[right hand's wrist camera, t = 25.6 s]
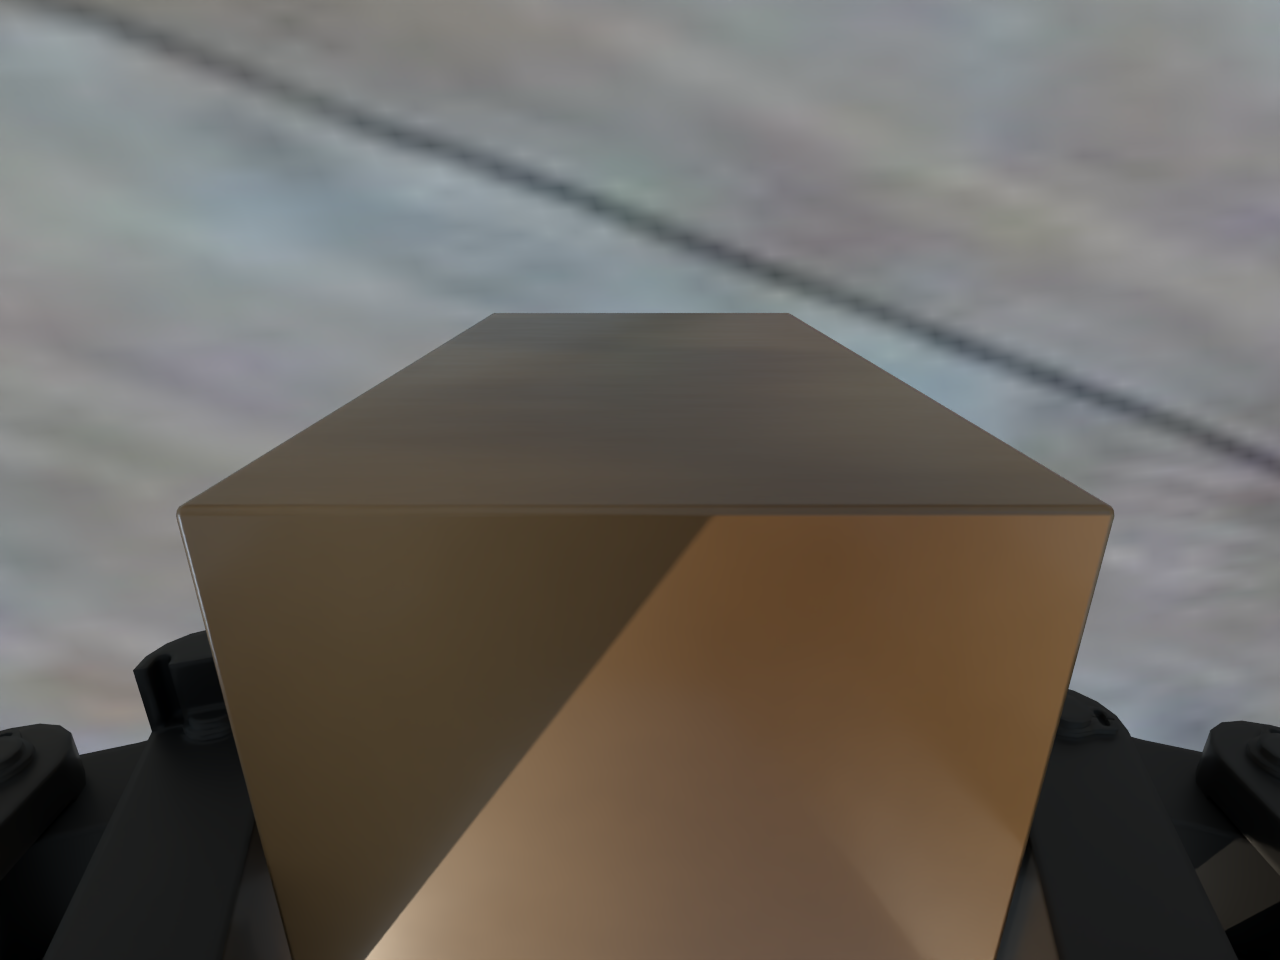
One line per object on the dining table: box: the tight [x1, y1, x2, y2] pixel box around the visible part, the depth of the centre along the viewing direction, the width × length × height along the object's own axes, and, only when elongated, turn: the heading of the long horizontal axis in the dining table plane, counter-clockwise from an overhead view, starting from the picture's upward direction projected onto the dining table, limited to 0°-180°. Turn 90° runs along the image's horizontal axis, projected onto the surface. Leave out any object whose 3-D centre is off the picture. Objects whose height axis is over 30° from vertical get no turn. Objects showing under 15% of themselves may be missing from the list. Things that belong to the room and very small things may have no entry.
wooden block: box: [176, 313, 1114, 960], centre depth 11 cm, size 6×9×10 cm
